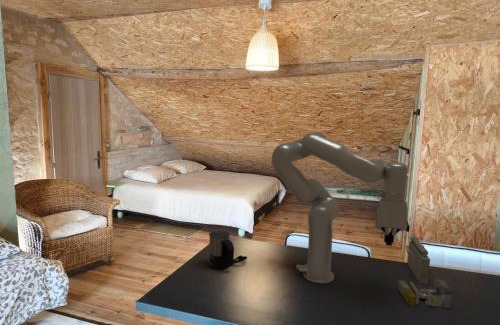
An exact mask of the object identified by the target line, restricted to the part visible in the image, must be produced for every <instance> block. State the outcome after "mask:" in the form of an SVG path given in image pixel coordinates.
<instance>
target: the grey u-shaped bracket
mask: <svg viewBox="0 0 500 325" xmlns="http://www.w3.org/2000/svg"><path fill="white" fill-rule="evenodd" d="M433 282H434V283H433V289H431V288H430V289H428V288H419V293H423V294H425V290H426V289H428V290H429V292H430V293H431V294H434V295H440V298H438V297H434V306H433V307H441V308H442V309H451V306H452V299H453V289H452V288H451V286H449V284H447V282H446V281H445V280H444V278H442V277H436V276H435V277H434V281H433ZM431 300H432V299H431V297H430V296H429V297H427V296H426V299H424V303H425V304H426V306H430V307H432V306H431Z"/></svg>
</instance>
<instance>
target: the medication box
mask: <svg viewBox="0 0 500 325" xmlns="http://www.w3.org/2000/svg"><path fill="white" fill-rule="evenodd" d="M397 290H398V291H399V293H400V295H401V296H402V298H403V299H404V300H405V302H406V303H407V304H408V306H410V307H417V304H416V302H417V296H416V295H415V294H414V292H413V291H412V290H411V288H410V287H409V283H407V282H406V280H404V279H398V280H397Z"/></svg>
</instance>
